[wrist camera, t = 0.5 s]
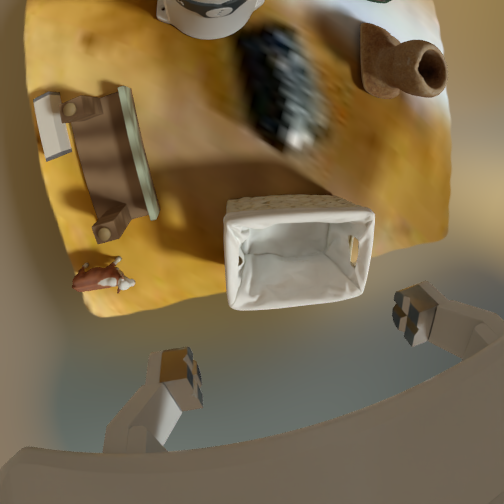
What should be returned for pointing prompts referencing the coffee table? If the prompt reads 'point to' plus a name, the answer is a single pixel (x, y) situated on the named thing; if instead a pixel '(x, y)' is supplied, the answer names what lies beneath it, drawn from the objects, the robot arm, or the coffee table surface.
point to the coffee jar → (380, 1)
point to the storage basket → (295, 250)
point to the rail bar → (51, 126)
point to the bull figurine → (101, 278)
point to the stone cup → (399, 65)
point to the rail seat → (112, 160)
